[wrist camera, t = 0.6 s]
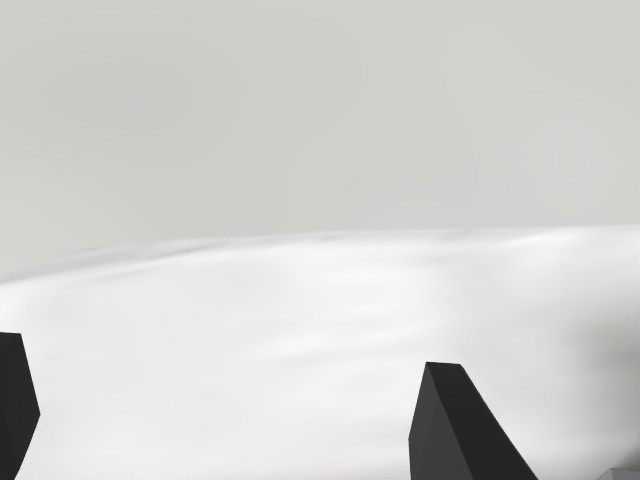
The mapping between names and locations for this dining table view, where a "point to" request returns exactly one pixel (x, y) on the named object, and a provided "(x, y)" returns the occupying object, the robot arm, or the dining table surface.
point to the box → (620, 475)
